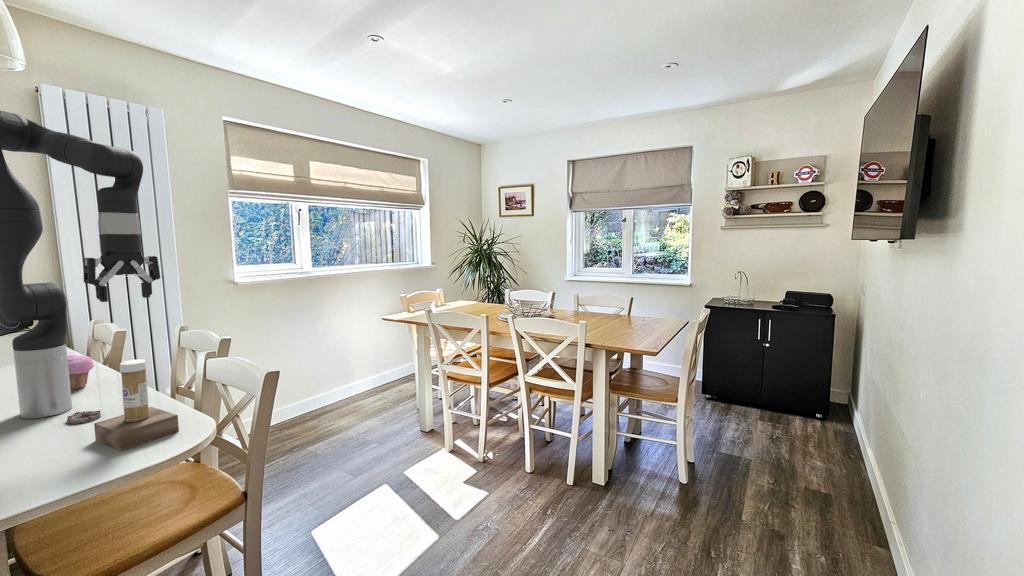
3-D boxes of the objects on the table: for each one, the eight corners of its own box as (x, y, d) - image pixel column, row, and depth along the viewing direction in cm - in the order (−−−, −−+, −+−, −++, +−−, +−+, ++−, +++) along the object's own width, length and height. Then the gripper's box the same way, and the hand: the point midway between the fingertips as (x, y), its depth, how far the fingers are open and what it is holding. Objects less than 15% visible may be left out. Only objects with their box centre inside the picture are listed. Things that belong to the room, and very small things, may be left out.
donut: (102, 423, 109) (102, 415, 109) (58, 432, 105) (57, 423, 104) (106, 412, 116) (105, 404, 116) (65, 419, 111) (64, 412, 111)
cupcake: (58, 386, 133) (54, 354, 132) (97, 381, 138) (94, 350, 137) (51, 395, 126) (47, 361, 125) (93, 389, 131) (90, 356, 130)
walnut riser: (95, 440, 99) (94, 423, 99) (152, 422, 109) (151, 406, 109) (122, 451, 95) (120, 433, 94) (178, 431, 105) (177, 414, 104)
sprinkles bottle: (118, 422, 99) (113, 364, 98) (136, 414, 104) (131, 358, 102) (138, 423, 99) (134, 364, 98) (155, 414, 104) (151, 358, 102)
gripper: (146, 232, 114) (150, 295, 116) (73, 231, 102) (80, 302, 103) (162, 233, 111) (167, 297, 113) (90, 232, 98) (96, 304, 100)
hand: (125, 299), depth 108 cm, fingers open, 8 cm apart
